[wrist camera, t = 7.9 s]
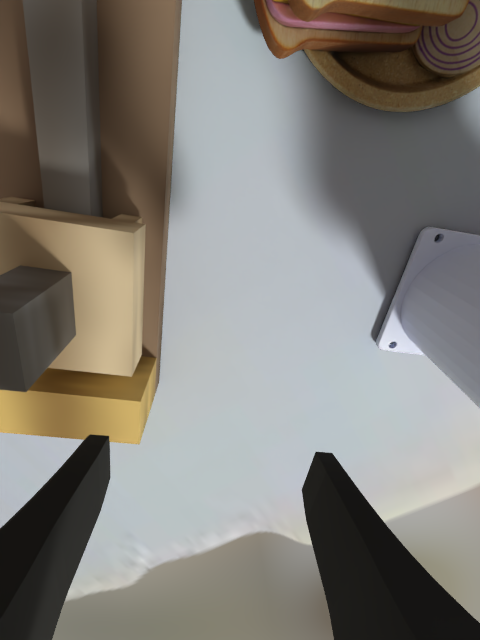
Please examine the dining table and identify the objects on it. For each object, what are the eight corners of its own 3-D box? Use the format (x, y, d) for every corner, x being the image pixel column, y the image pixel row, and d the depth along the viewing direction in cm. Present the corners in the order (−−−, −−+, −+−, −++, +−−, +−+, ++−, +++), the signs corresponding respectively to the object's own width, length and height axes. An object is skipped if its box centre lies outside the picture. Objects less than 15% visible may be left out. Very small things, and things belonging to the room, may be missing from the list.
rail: (201, -328, 10) (176, -795, 5) (158, 381, 22) (139, 444, 17) (-73, -419, 9) (-414, -1075, 4) (38, 369, 21) (-18, 430, 17)
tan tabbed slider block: (152, 218, 16) (96, 261, 9) (147, 340, 19) (103, 440, 12) (1, 195, 15) (-184, 221, 8) (22, 325, 18) (-101, 423, 11)
